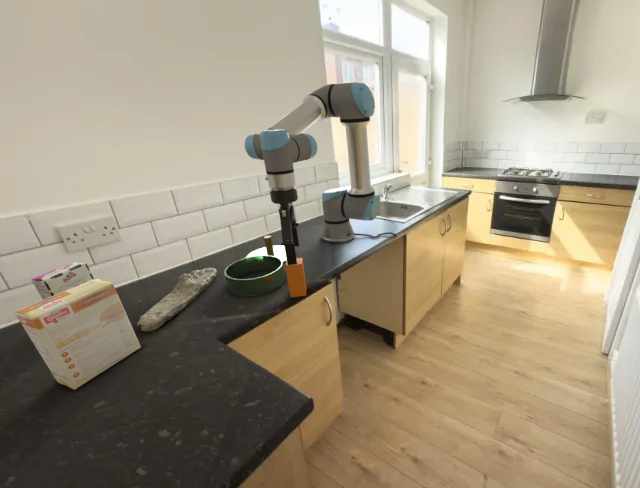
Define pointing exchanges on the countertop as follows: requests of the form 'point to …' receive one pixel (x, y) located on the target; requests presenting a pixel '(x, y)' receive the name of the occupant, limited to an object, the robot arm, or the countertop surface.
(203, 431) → the countertop surface
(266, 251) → the tin lid
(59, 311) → the coffeecake box
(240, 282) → the tin
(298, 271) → the snack box
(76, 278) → the candy bar box
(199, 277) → the elongated rock
